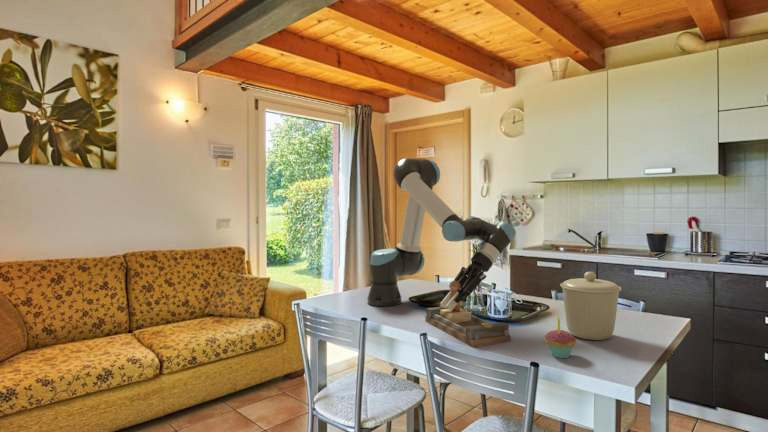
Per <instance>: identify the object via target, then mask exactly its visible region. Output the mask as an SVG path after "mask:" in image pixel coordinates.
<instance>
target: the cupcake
mask: <svg viewBox="0 0 768 432" xmlns="http://www.w3.org/2000/svg"><path fill="white" fill-rule="evenodd" d="M556 320H557V329H555V330H550V331H548V332H547V333H546V334H545V335H544V341H545V343H546V344H547V345H548V347H549V350H550V353H551V356H553V357H554V358H555V357H556V358H558V357H559V358H558V359H567V358H569V357H570V356H571V352H572V350H573V348H574V347H575V346H576V345H577V338H576V336H574V335H572V334H571V333H570V332H569V331H567V330H562V329H561V318H560V315H558V316H557V319H556Z"/></svg>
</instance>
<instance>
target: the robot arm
mask: <svg viewBox="0 0 768 432" xmlns="http://www.w3.org/2000/svg"><path fill="white" fill-rule="evenodd" d="M392 176H393V180H394V181H395V183H396V184H397V186H398V187H399V189H401V190H402V191H403V192H407V193H408V195H407V202H406V208H405V214H404V219H403V224H402V225H403V226H402V231H401V237H400V242H398V243H397V244H396V247H395V248H382V249H377V250H374V251H372V253H371V254H370V262H369V263H370V288H369V291H368V295H367V304H368V305H371V306H374V307H392V306H398V305H400V304H401V303H402V295H401V292H400V289H399V286H398V278H399V277H405V276H412V275H415V274H419V273H420V272H421V271H422V270H423V268H424V265H425V257H424V253H423V251H422V247H421V246H420V241H421V236H422V229H423V224H424V219H425V213H427V214H428V215H429V217H431V218H432V219H433V220H434V222H435V223H437V225H439V226H440V228H441V234H442V236H443V238H444V240H446V241H448V242H454V243H455V242H457V243H458V242H463V241H471V240H472V241H473V240H479V241H481V242H483V243H482V244H481V246H479V248H477V251H476V252H475V253H474V254H473V255H472V257H471V258H470V261H471V263H470V264H469V265H468V266H467V267H465V266H462V267H461V269H460V271H459V273H458V274H457V275H456V276H455V278H453V280H452V281H458V282H459V283H460V284H461V288H460V290H458V292H456V293H455V295H454V296H453V297H452V298H451V289H450V291H449V292H448V293H447V294H446V295H445V297H444V298H443V299H442V301H441V302H440V305H442V306H443V307H444V308H448V309H449V310H450V311H452V310H453V309H454V307H455V306H456V305H457V304H458V302H459V301H460V302H461V300H462V299H463V298H464V297H469V296H470V295H471V294H472V293H474V290H476V288H477V287H478V286H479V285H480V283H481V282H483V281H484V280H485V279H486V278H487V275H486V274H485V273H487V272H489V271H490V269H491V268H492V267H493V265H494V264H495V263H496V261H497V260H498V258H499V257H500V256H501V255H502V253H503V252H504V251H505V250H506V248H507V247H508V246H509V245H510V244H512V241H513V240H514V238H515V237H516V234H517V231H516V229H515V227H513V225H512V224H510V223H509V222H506V221H500V222H499V223H498V224H493V223H490V222H488V221H486V220H484V219H482V218H480V217H477V216H473V215H472V216H469V217H468V218H466V219H465V220H463V219H461V217H459V215H457V214H456V212H454V211H453V210H452V209H451V208H450V207H449V205H447V204H446V203H445V201H443V200H442V199H441V197H439V195H438V194H437V193H436V192H434V191H433V187H435V186H436V185H437V184H438V183H439V181H440V179H441V170H440V168H439V166H438V164H437V163H436V162H435V161H433V160H431V159H426V158H412V157H405V158H402V159H400V160H399V161H397V163H395V165H394V168H393V175H392ZM448 288H450V285H449V286H448Z"/></svg>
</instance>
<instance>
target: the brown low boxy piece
mask: <svg viewBox="0 0 768 432" xmlns="http://www.w3.org/2000/svg"><path fill="white" fill-rule="evenodd" d="M460 308H462V309H464V306H463V305H461V304H460ZM442 309H448V308H444V307H443V306H442V305H441V304H440V305H439V306H437V307H435V306H434V307H427V308H426V315H425V318H424V319H425V320H424V321H425V322H426V323H429V324H430V325H432V326H434V327H435V328H438V329H439V330H441V331H443V332H445V333H446V334H448V335H450V336H453V337H454V338H455V339H457V340H459V341H460V342H463V343H465V344H466V345H469V346H471V347H472V348H475V347H476V348H477V347H481V346H482V345H483V346H488V344H489V345H494V344H493V343H496V344H500V343H501V342H502V343H506V342H507V343H509V342H511V340H512V339H511V337H512V336H511V334H509V330H510V329H509V324H508V323H505V322H496V323H491V322H490V321H487V320H485V319H482V318H480V317H477V316H475V315H473V314H471V321H467V322H459V323H454V322H452V321H450V320H448V319H446V318H443V317H441V316H440V310H442Z"/></svg>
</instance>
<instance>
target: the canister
mask: <svg viewBox="0 0 768 432" xmlns="http://www.w3.org/2000/svg"><path fill="white" fill-rule="evenodd" d="M583 277H584V278H580V277H579V278H570V279H567V280H564V281H563V282H561V283H560V284H559V286H560V287H561V288H562V289H561V290H562V297H563V305H564V306H563V307H564V313H565V322H566V327H567V330H568V333H570V334H572V335H574V337H575V338H580V339H583V340H589V341H603V340H607V339H609V338H611V336H612V335H613V334H614V331H615V327H616V326H615V325H616V318H617V311H618V305H619V304H618V302H619V293H620V292H621V290H622V287H621V286H619V285H618V284H616V283H615V282H614V281H613V282H612V281H609V280H606V279H605V280H604V279H601V278H600V279H598V278H597V275H596V273H595V272H593V271H586V272H584V274H583Z"/></svg>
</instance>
